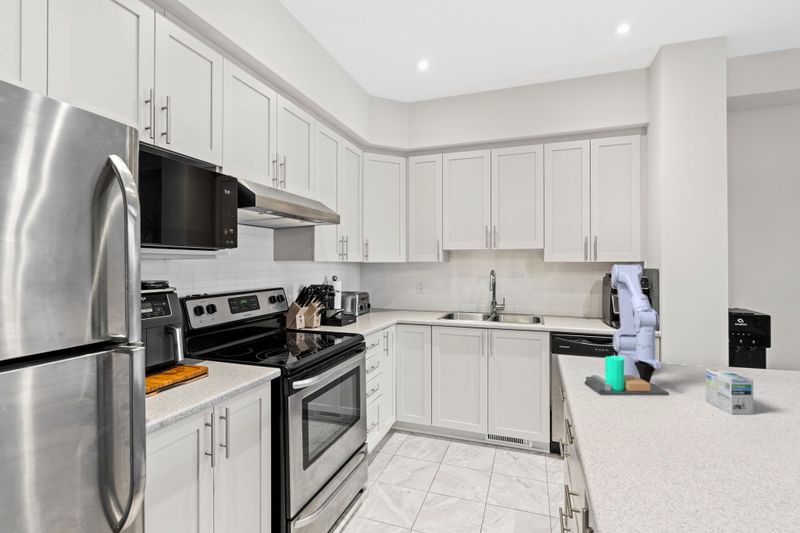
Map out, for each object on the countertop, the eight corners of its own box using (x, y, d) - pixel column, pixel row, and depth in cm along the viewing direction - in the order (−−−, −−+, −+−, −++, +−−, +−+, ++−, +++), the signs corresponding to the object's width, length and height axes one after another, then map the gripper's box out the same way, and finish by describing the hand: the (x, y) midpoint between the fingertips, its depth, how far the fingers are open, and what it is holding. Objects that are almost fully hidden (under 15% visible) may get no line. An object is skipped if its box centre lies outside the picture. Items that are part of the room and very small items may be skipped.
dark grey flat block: (647, 383, 146) (647, 374, 145) (668, 395, 134) (668, 385, 133) (584, 383, 146) (584, 374, 146) (600, 395, 134) (600, 385, 134)
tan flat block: (633, 381, 145) (633, 375, 145) (650, 391, 135) (650, 383, 135) (614, 381, 145) (614, 375, 145) (629, 391, 135) (629, 383, 135)
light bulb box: (754, 414, 117) (754, 378, 117) (731, 414, 117) (731, 378, 117) (725, 401, 128) (725, 368, 127) (704, 401, 128) (704, 368, 127)
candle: (621, 385, 141) (621, 352, 141) (626, 390, 135) (626, 356, 135) (603, 383, 143) (603, 351, 143) (606, 389, 137) (607, 354, 137)
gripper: (622, 340, 147) (622, 376, 147) (646, 349, 132) (646, 390, 132) (642, 340, 146) (641, 376, 147) (667, 349, 132) (667, 390, 132)
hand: (645, 383), depth 140 cm, fingers closed, pressing on tan flat block
